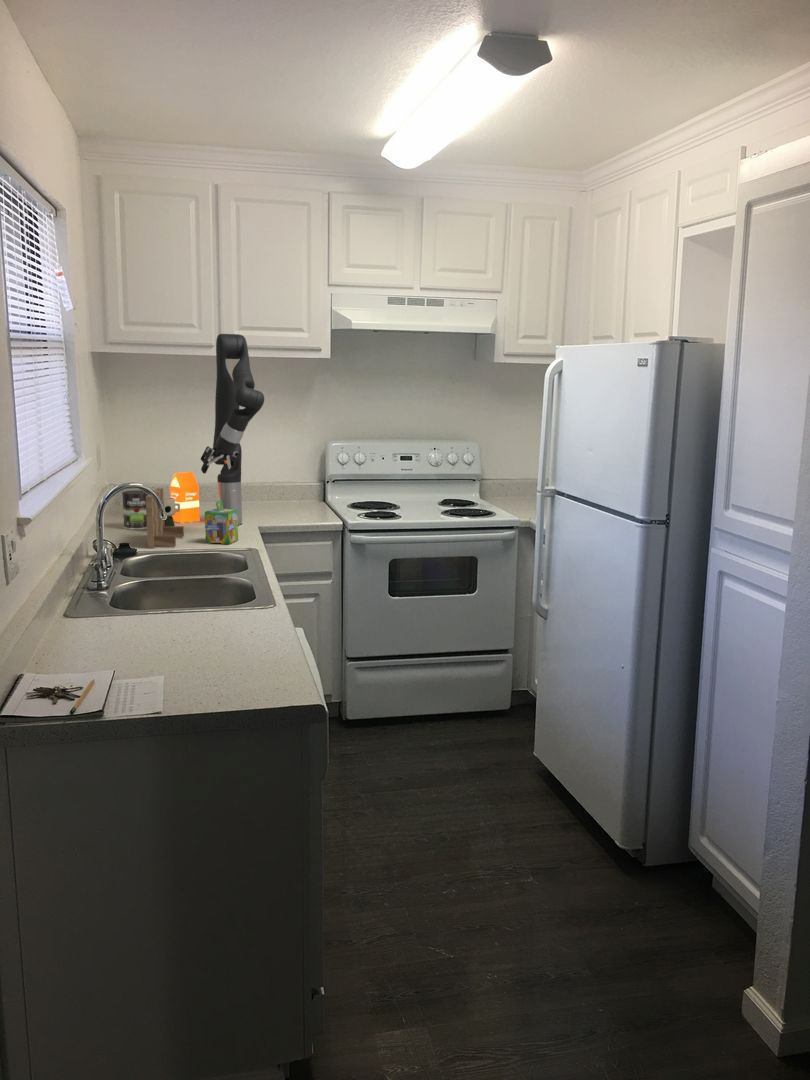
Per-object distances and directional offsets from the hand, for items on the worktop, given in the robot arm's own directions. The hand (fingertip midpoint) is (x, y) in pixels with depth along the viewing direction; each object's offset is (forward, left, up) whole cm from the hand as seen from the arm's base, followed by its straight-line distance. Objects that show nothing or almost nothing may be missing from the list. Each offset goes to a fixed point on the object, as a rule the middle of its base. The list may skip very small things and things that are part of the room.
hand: (212, 473), depth 320 cm
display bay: (+14, -15, -23) cm, 31 cm away
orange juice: (-32, -16, -23) cm, 43 cm away
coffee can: (-17, -32, -23) cm, 43 cm away
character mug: (-6, -19, -23) cm, 31 cm away
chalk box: (+14, +4, -24) cm, 28 cm away
